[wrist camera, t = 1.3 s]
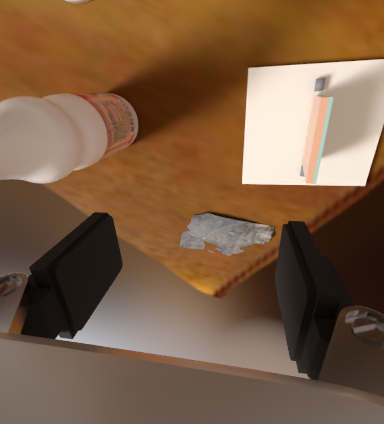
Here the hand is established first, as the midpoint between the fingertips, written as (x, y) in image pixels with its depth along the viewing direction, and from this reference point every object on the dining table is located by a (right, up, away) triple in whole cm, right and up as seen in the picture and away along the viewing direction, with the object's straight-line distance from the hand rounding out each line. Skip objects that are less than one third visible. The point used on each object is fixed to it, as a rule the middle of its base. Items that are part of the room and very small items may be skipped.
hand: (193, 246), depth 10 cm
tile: (+16, +12, +22) cm, 30 cm away
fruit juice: (-14, +18, +32) cm, 40 cm away
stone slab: (+7, -3, +40) cm, 41 cm away
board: (+19, +15, +27) cm, 36 cm away
